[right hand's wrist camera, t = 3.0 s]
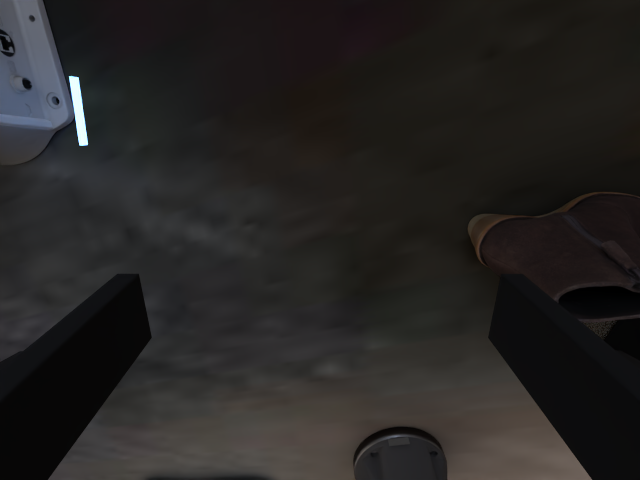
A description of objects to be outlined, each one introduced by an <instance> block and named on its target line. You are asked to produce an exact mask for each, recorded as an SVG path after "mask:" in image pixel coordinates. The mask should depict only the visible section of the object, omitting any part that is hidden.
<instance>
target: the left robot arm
mask: <svg viewBox="0 0 640 480" xmlns="http://www.w3.org/2000/svg"><path fill="white" fill-rule="evenodd" d="M70 84H71V91H72V97H73V104H74V108H73V105H72V101H71V98H70V94H69V91H68V87H67V84H66V80H65V77H64V73H63V70H62V66H61V63H60V59H59V56H58V52H57V49H56V45H55V41H54V38H53V34H52V31H51V27H50V24H49V20H48V17H47V13H46V10H45V6H44V3H43V0H0V165H16V164H21V163H25V162H27V161H29V160H31V159H33V158H35V157H36V156H37V155H39V154H40V153H41V152H42V151H43V150H44V149H45V147H46V146H47V144H48V143H49V141H50V139H51V138H52V136H53V135H54V133H55V132H56V131H58V130H60V129H62V128H63V127H65V126H67V125H68V124H70V123H71V122H72V121H73V119H74V116H75V117H76V124H77V131H78V138H79V144H80V145H88V143H87V136H86V129H85V122H84V115H83V108H82V100H81V93H80V86H79V79H78V78H77V77H70ZM56 98H58V99H59V101H60V103H59V104H58V103H57V102H56ZM74 111H75V113H74Z"/></svg>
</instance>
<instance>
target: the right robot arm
mask: <svg viewBox="0 0 640 480" xmlns="http://www.w3.org/2000/svg"><path fill="white" fill-rule="evenodd" d="M151 338H152V337H151V332H150V327H149V322H148V317H147V312H146V307H145V302H144V297H143V292H142V288H141V283H140V278H139V274H117V275H116V276H114V277H113V278H112V279H111V280H110V281H108V282H107V283H106V284H105V285H103V286H102V287H101V288H100V289H99V290H97V291H96V292H95V293H94V294H92V295H91V296H90V297H89V298H88V299H86V300H85V301H84V302H83V303H82V304H80V305H79V306H78V307H77V308H75V309H74V310H73V311H72V312H71V313H69V314H68V315H67V316H66V317H64V318H63V319H62V320H61V321H60V322H58V323H57V324H56V325H55V326H53V327H52V328H51V329H50V330H49V331H47V332H46V333H45V334H44V335H43V336H41V337H40V338H39V339H38V340H36V341H35V342H34V343H33V344H32V345H30V346H29V347H28V348H27V349H25V350H24V351H23V352H18V353H16V354H14V355H13V356H11V357H9V358H7V359H5V360H3V361H1V362H0V480H48V479H49V477H50V476H51V474H52V473H53V472H54V470H55V469H56V468H57V466H58V465H59V464H60V462H61V461H62V459H63V458H64V457H65V455H66V454H67V453H68V451H69V450H70V449H71V447H72V446H73V444H74V443H75V442H76V440H77V439H78V438H79V436H80V435H81V433H82V432H83V431H84V429H85V428H86V427H87V425H88V424H89V423H90V421H91V420H92V418H93V417H94V416H95V414H96V413H97V412H98V410H99V409H100V408H101V406H102V405H103V403H104V402H105V401H106V399H107V398H108V397H109V395H110V394H111V393H112V391H113V390H114V388H115V387H116V386H117V384H118V383H119V382H120V380H121V379H122V377H123V376H124V375H125V373H126V372H127V371H128V369H129V368H130V367H131V365H132V364H133V362H134V361H135V360H136V358H137V357H138V356H139V354H140V353H141V352H142V350H143V349H144V347H145V346H146V345H147V343H148V342H149V341H150V339H151ZM488 338H489V339H490V341H491V342H492V343H493V345H494V346H495V347H496V349H497V350H498V352H499V353H500V354H501V356H502V357H503V358H504V360H505V361H506V362H507V364H508V365H509V367H510V368H511V369H512V371H513V372H514V373H515V375H516V376H517V377H518V379H519V380H520V382H521V383H522V384H523V386H524V387H525V388H526V390H527V391H528V393H529V394H530V395H531V397H532V398H533V399H534V401H535V402H536V403H537V405H538V406H539V408H540V409H541V410H542V412H543V413H544V414H545V416H546V417H547V418H548V420H549V421H550V423H551V424H552V425H553V427H554V428H555V429H556V431H557V432H558V433H559V435H560V436H561V438H562V439H563V440H564V442H565V443H566V444H567V446H568V447H569V449H570V450H571V451H572V453H573V454H574V455H575V457H576V458H577V459H578V461H579V462H580V464H581V465H582V466H583V468H584V469H585V470H586V472H587V473H588V474H589V476H590V477H591V479H592V480H640V361H639V360H638V359H636V358H634V357H632V356H630V355H628V354H626V353H625V352H623V351H621V350H615V349H613V348H612V347H611V346H610V345H608V344H607V343H606V342H605V341H604V340H602V339H601V338H600V337H599V336H597V335H596V334H595V333H594V332H593V331H591V330H590V329H589V328H588V327H587V326H585V325H584V324H583V323H582V322H580V321H579V320H578V319H577V318H576V317H574V316H573V315H572V314H571V313H569V312H568V311H567V310H566V309H565V308H563V307H562V306H561V305H560V304H558V303H557V302H556V301H555V300H554V299H552V298H551V297H550V296H549V295H548V294H546V293H545V292H544V291H543V290H541V289H540V288H539V287H538V286H537V285H535V284H534V283H533V282H532V281H530V280H529V279H528V278H527V277H526V276H524V275H523V274H501V278H500V283H499V288H498V292H497V297H496V302H495V307H494V312H493V317H492V322H491V327H490V332H489V337H488ZM353 464H354V474H355V479H356V480H447V462H446V458H445V456H444V453H443V450H442V447H441V445H440V444H439V442H438V441H437V440H436V439H435V438H434V437H433V436H431V435H430V434H428V433H426V432H424V431H421V430H418V429H415V428H408V427H396V428H389V429H385V430H382V431H379V432H377V433H375V434H373V435H371V436H369V437H368V438H367V439H365V440H364V441H363V442H362V443H361V444H360V445H359V447H358V448H357V450H356V452H355V455H354V460H353Z"/></svg>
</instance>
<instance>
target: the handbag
mask: <svg viewBox="0 0 640 480" xmlns="http://www.w3.org/2000/svg"><path fill="white" fill-rule="evenodd" d="M604 341H605V342H606V343H607V344H608V345H610V346H611V347H612V348H613V349H615V350H621V351H623V352H625V353H626V354H628V355H630V356H632V357H634V358H636V359H638V360H639V361H640V318H634V319H621V320H619V321H618V323H617V324H616V325H615V326H614V328H613V329H612V331H611V332H610V333H609V335H608V336H607V337H606V339H605V340H604Z"/></svg>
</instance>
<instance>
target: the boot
mask: <svg viewBox="0 0 640 480" xmlns="http://www.w3.org/2000/svg"><path fill="white" fill-rule="evenodd" d="M468 233H469V235H470V238H471V241H472V243H473V245H474V247H475V250H476V254H477V257H478V259H479V260H480V262H481V263H482V264H484V265H485V266H487V267H489V268H491V270H492V271H493V272H495V273H496V274H497V275H498V276H501V274H523V275H524V276H526V277H527V278H528V279H529V280H530V281H532V282H533V283H534V284H535V285H537V286H538V287H539V288H540V289H541V290H543V291H544V292H545V293H546V294H548V295H549V296H550V297H551V298H552V299H554V300H555V301H556V302H557V303H558V304H560V305H561V306H562V307H563V308H565V309H566V310H567V311H568V312H569V313H571V314H572V315H573V316H574V317H576V318H577V319H578V320H579V321H580V322H603V321H612V320H621V319H634V318H640V197H638V196H634V195H630V194H624V193H617V192H594V193H588V194H584V195H582V196H579V197H577V198H575V199H573V200H571V201H570V202H568V203H566V204H565V205H564V206H562V207H560V208H559V209H557V210H555V211H553V212H550V213H548V214H545V215H541V216H534V217H532V216H521V215H502V214H480V215H477V216H475V217H473V218H472V219H471V221H470V222H469V225H468Z"/></svg>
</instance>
